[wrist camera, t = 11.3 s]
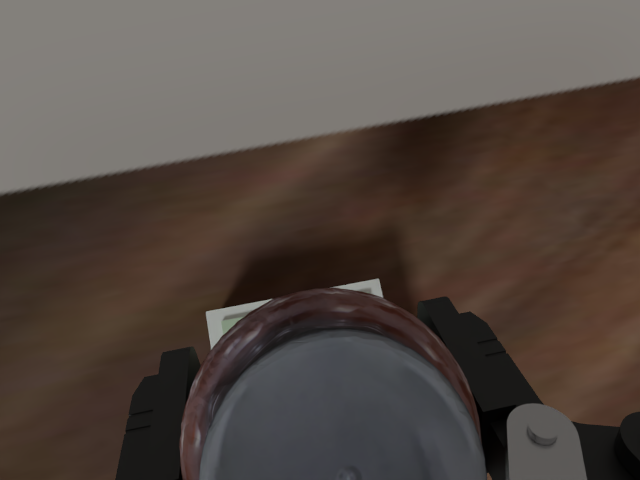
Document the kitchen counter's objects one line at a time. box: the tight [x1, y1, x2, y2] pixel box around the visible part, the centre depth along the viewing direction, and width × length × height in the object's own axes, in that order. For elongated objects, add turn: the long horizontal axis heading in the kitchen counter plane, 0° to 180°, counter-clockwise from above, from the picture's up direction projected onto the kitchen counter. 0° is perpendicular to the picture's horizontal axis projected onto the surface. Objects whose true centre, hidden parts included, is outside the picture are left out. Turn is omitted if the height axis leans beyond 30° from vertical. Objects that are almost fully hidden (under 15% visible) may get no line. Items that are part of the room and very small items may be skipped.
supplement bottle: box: [179, 288, 487, 480], centre depth 12 cm, size 6×6×11 cm
